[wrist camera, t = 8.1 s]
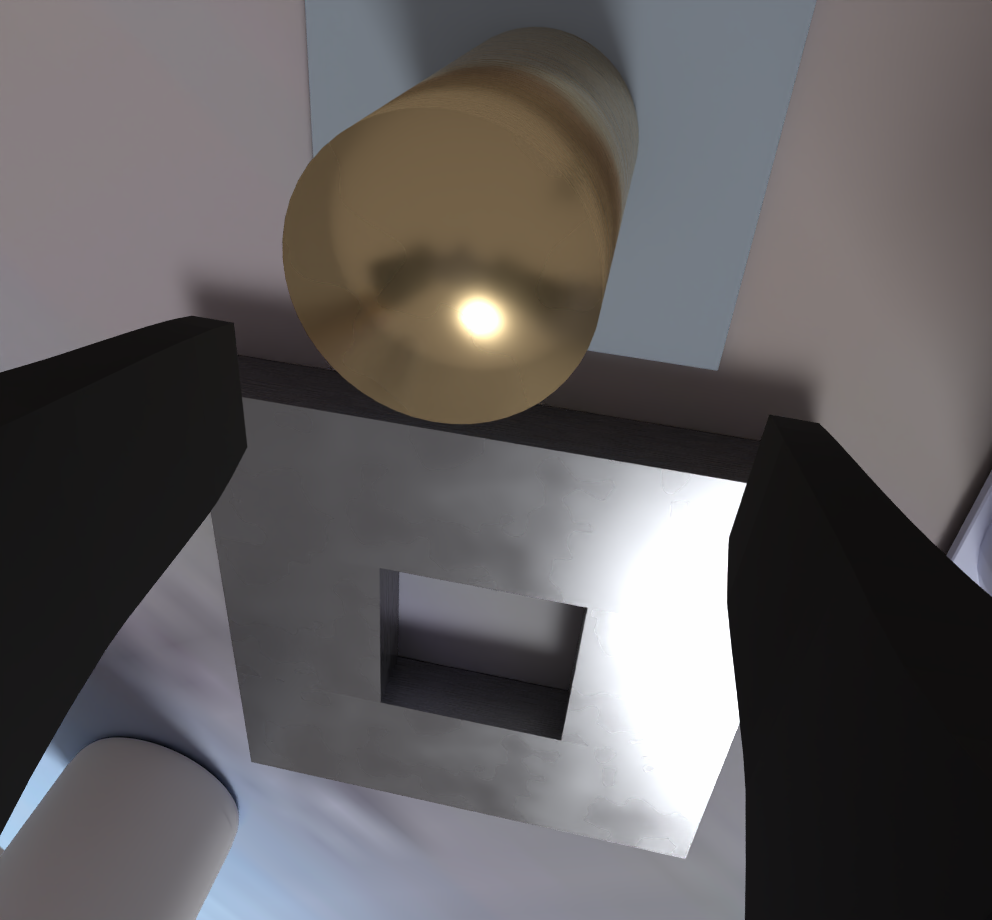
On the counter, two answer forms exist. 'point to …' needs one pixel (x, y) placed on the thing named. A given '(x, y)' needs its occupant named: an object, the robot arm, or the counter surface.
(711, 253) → the mat
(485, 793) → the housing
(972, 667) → the robot arm
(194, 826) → the pill bottle
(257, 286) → the counter surface
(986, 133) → the counter surface
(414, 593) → the counter surface
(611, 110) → the end plug
